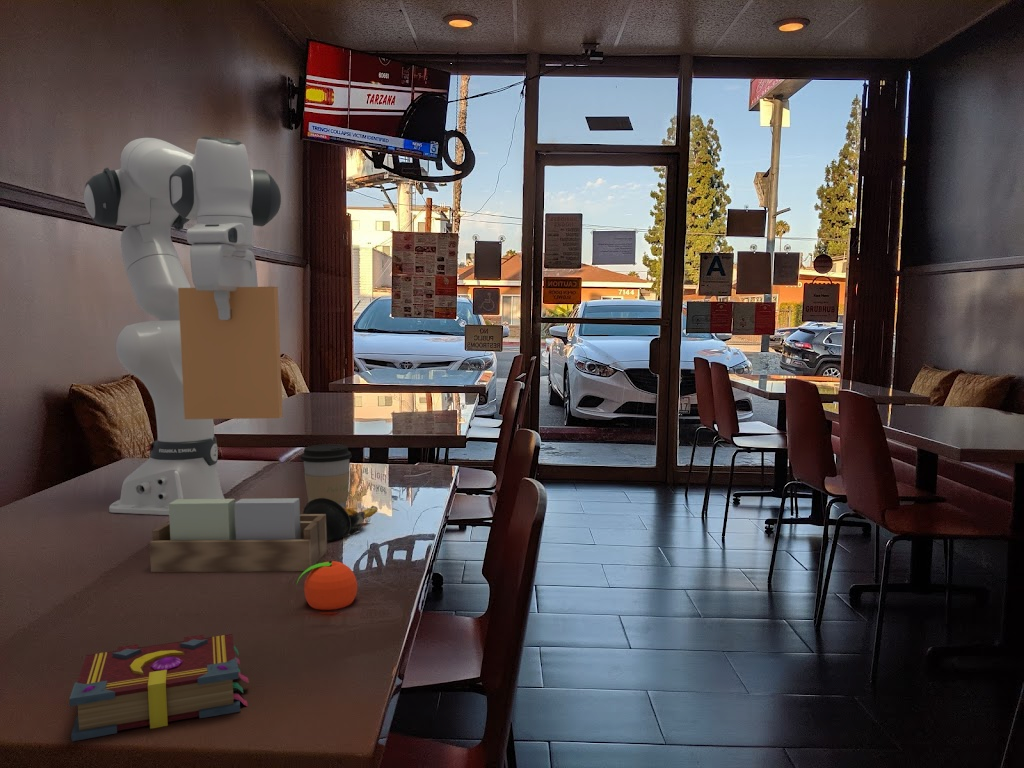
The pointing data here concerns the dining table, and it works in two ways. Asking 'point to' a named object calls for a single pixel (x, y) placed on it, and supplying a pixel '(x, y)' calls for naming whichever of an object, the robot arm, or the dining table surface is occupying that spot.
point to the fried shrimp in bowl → (338, 517)
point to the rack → (240, 551)
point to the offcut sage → (202, 519)
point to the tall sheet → (231, 355)
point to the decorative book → (156, 685)
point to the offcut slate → (267, 519)
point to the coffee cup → (327, 472)
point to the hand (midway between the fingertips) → (229, 319)
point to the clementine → (330, 586)
